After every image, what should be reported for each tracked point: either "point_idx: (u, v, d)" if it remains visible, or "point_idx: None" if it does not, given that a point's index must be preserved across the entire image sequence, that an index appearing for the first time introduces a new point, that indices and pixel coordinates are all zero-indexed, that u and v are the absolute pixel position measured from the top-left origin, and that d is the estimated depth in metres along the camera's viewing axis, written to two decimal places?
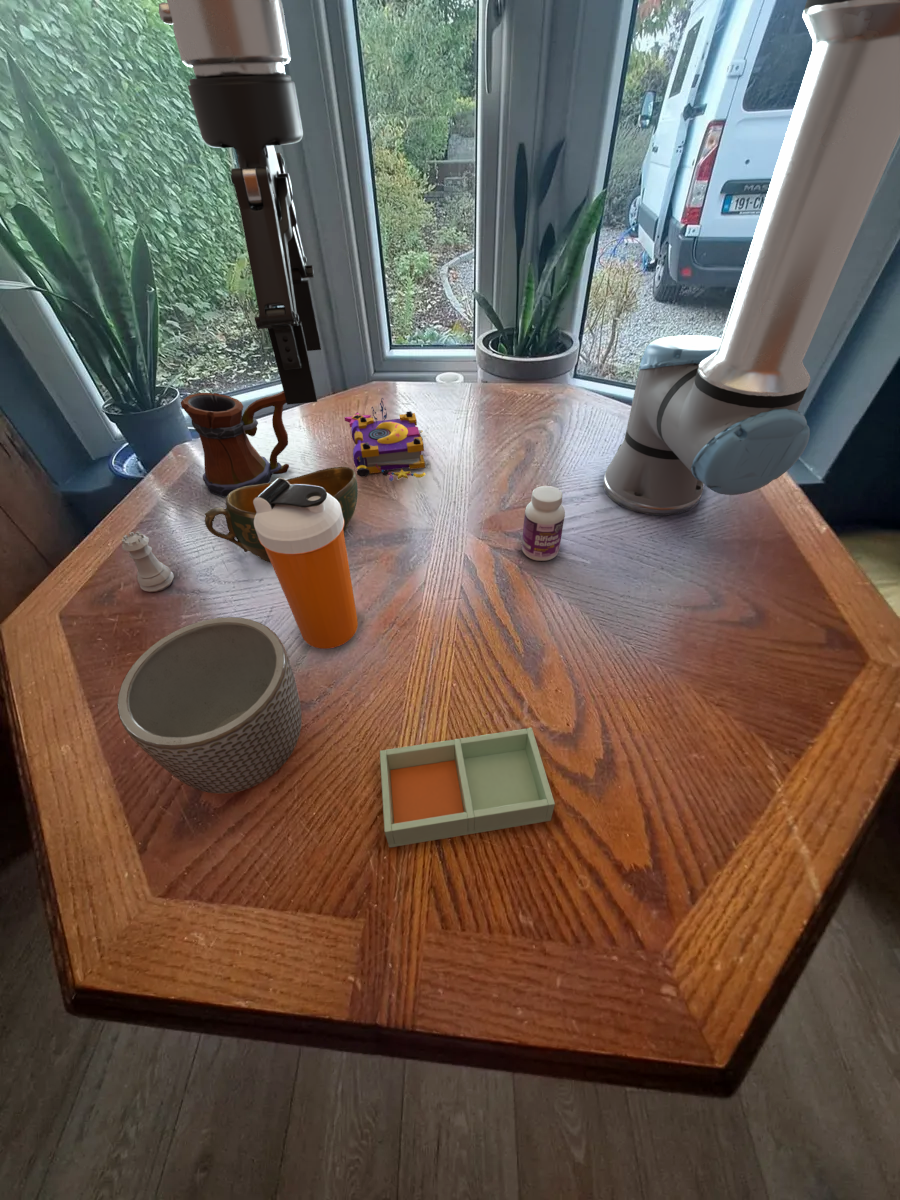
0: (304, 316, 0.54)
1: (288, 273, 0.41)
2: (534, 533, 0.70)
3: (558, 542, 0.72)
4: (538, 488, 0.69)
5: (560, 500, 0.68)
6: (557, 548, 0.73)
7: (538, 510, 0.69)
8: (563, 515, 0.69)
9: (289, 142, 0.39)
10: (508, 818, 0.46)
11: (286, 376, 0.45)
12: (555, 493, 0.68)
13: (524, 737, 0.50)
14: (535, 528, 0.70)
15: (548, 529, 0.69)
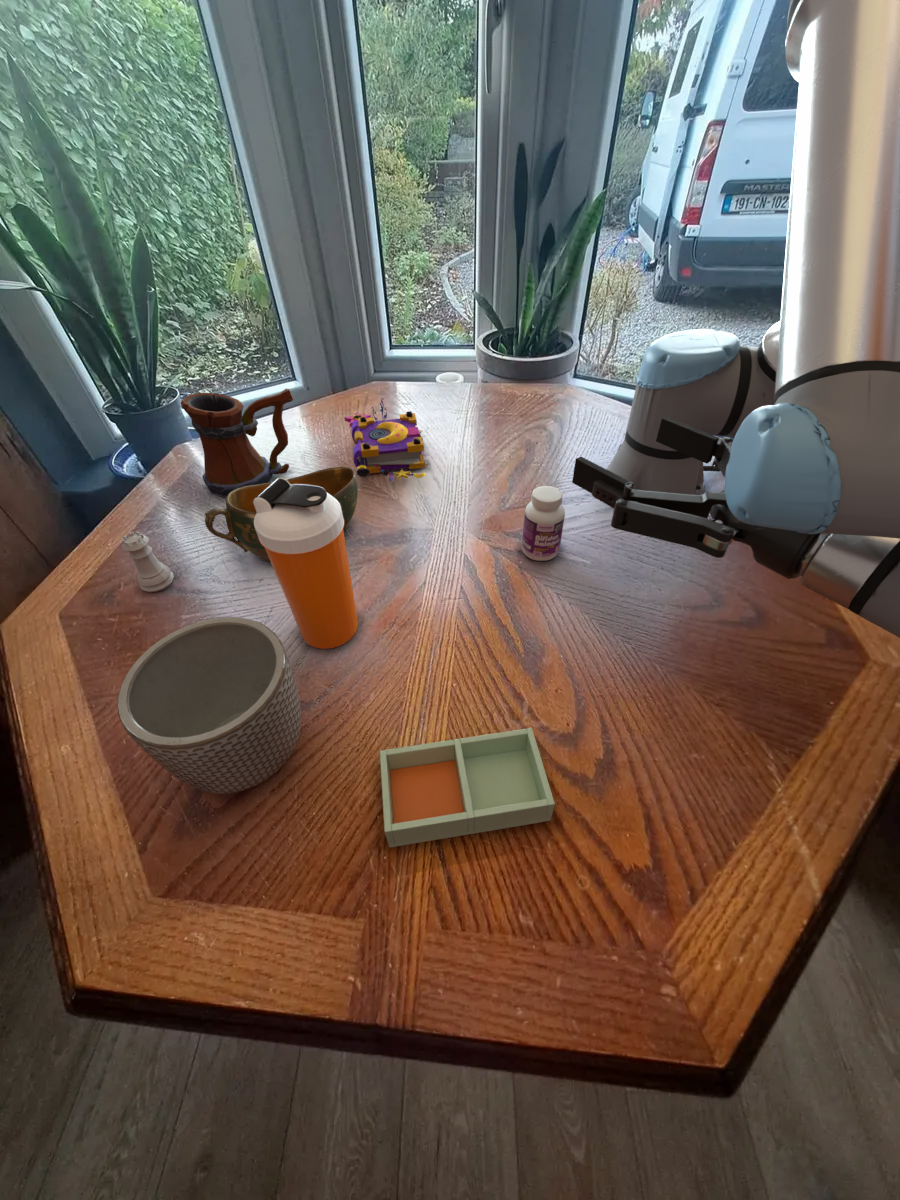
0: None
1: None
2: (534, 533, 0.70)
3: (558, 542, 0.72)
4: (538, 488, 0.69)
5: (560, 500, 0.68)
6: (557, 548, 0.73)
7: (538, 510, 0.69)
8: (563, 515, 0.69)
9: None
10: (508, 818, 0.46)
11: None
12: (555, 493, 0.68)
13: (524, 737, 0.50)
14: (535, 528, 0.70)
15: (548, 529, 0.69)
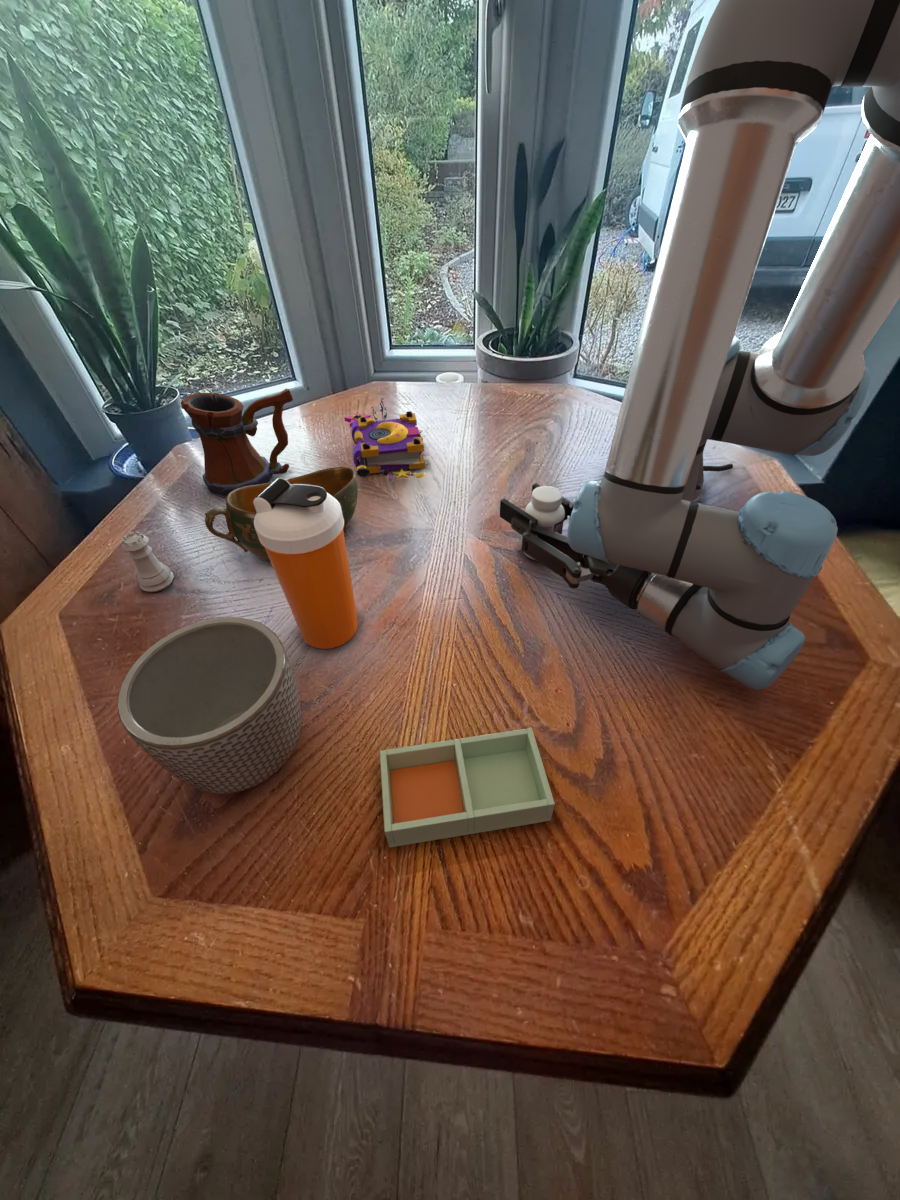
0: None
1: None
2: None
3: None
4: (537, 488, 0.69)
5: (560, 500, 0.68)
6: None
7: (538, 510, 0.69)
8: (563, 515, 0.69)
9: None
10: (508, 818, 0.46)
11: None
12: (554, 493, 0.68)
13: (524, 737, 0.50)
14: None
15: None
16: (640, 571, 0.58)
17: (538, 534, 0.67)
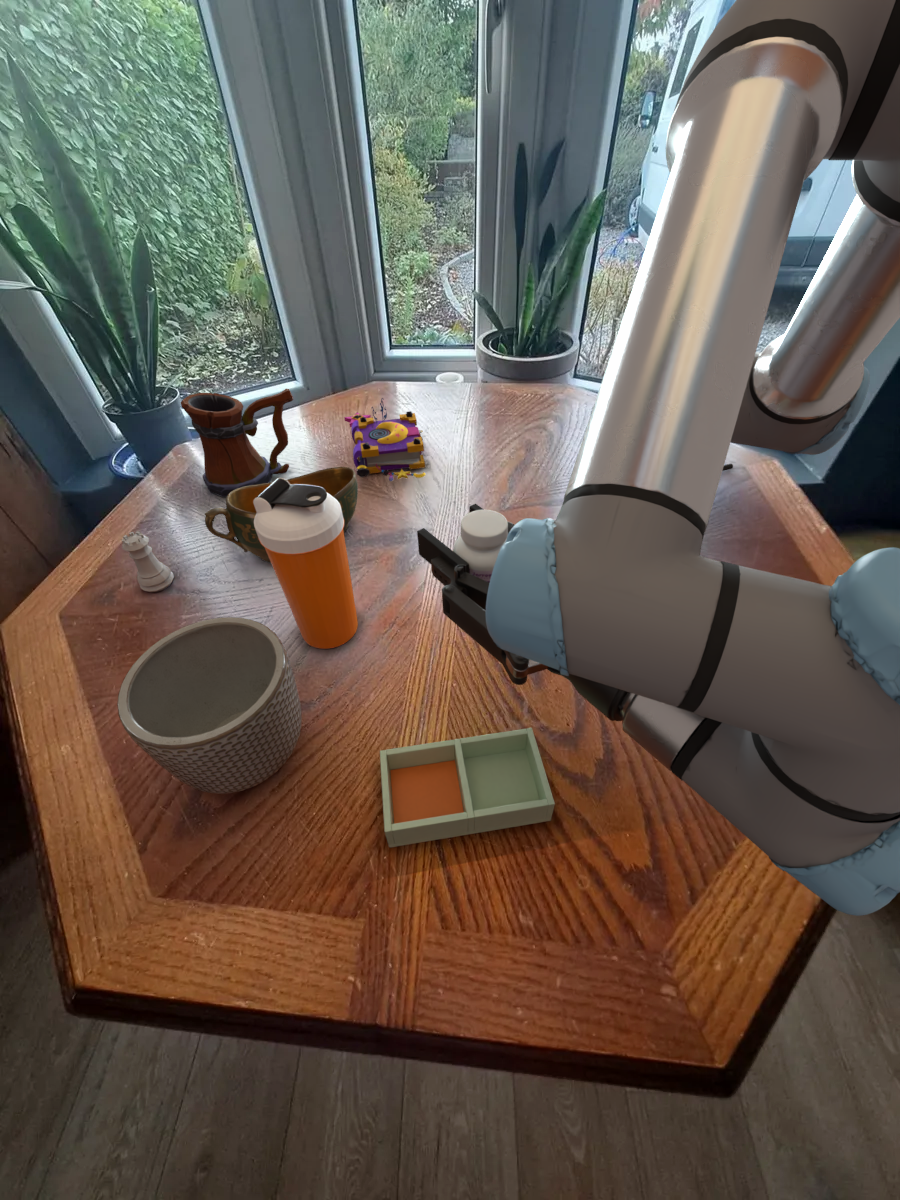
0: None
1: None
2: None
3: None
4: (471, 514, 0.45)
5: (504, 533, 0.43)
6: None
7: (471, 548, 0.44)
8: None
9: None
10: (508, 818, 0.46)
11: None
12: (496, 523, 0.43)
13: (524, 737, 0.50)
14: None
15: (488, 578, 0.44)
16: None
17: (467, 588, 0.42)
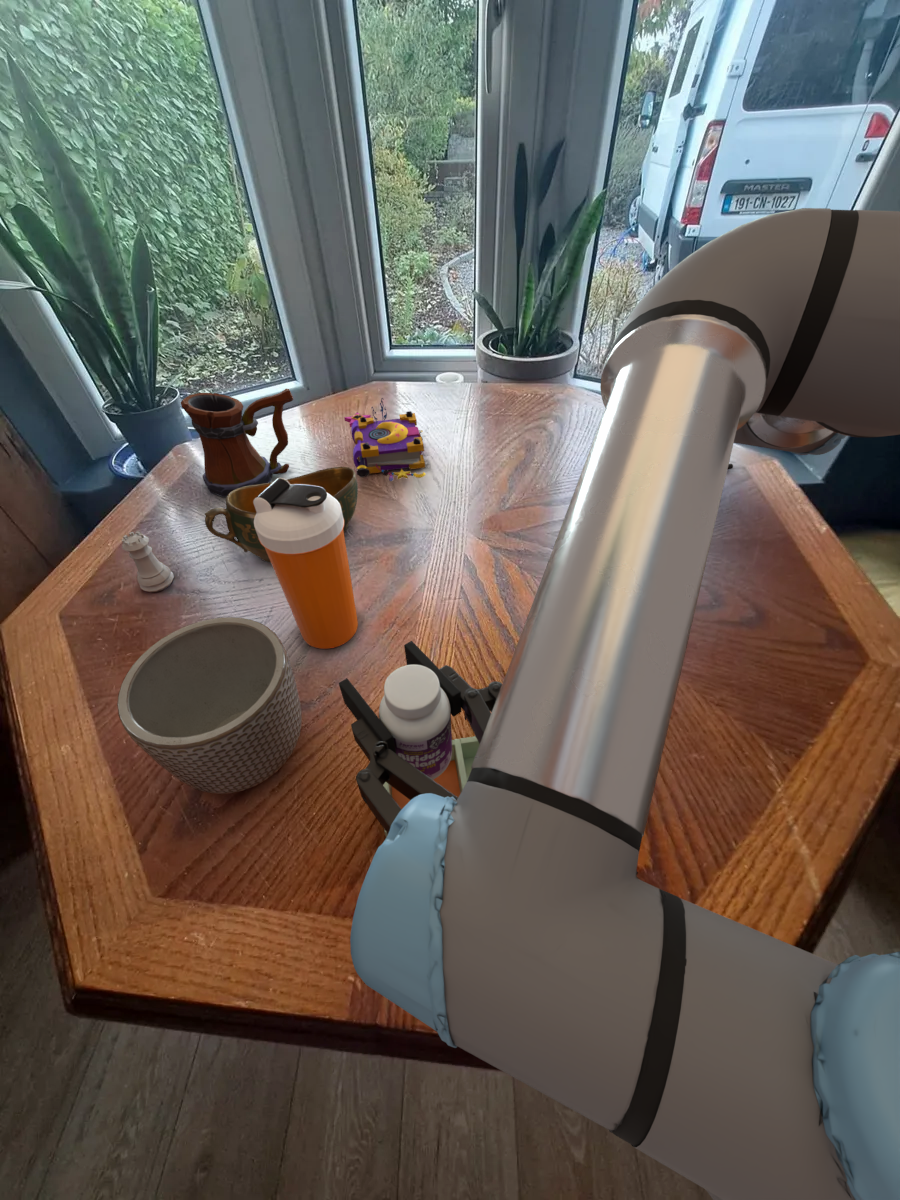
0: None
1: None
2: None
3: (444, 756, 0.40)
4: (397, 672, 0.38)
5: (434, 702, 0.36)
6: (444, 763, 0.41)
7: (396, 715, 0.37)
8: (445, 721, 0.38)
9: None
10: None
11: None
12: (425, 687, 0.37)
13: None
14: None
15: (418, 748, 0.38)
16: None
17: (388, 772, 0.35)
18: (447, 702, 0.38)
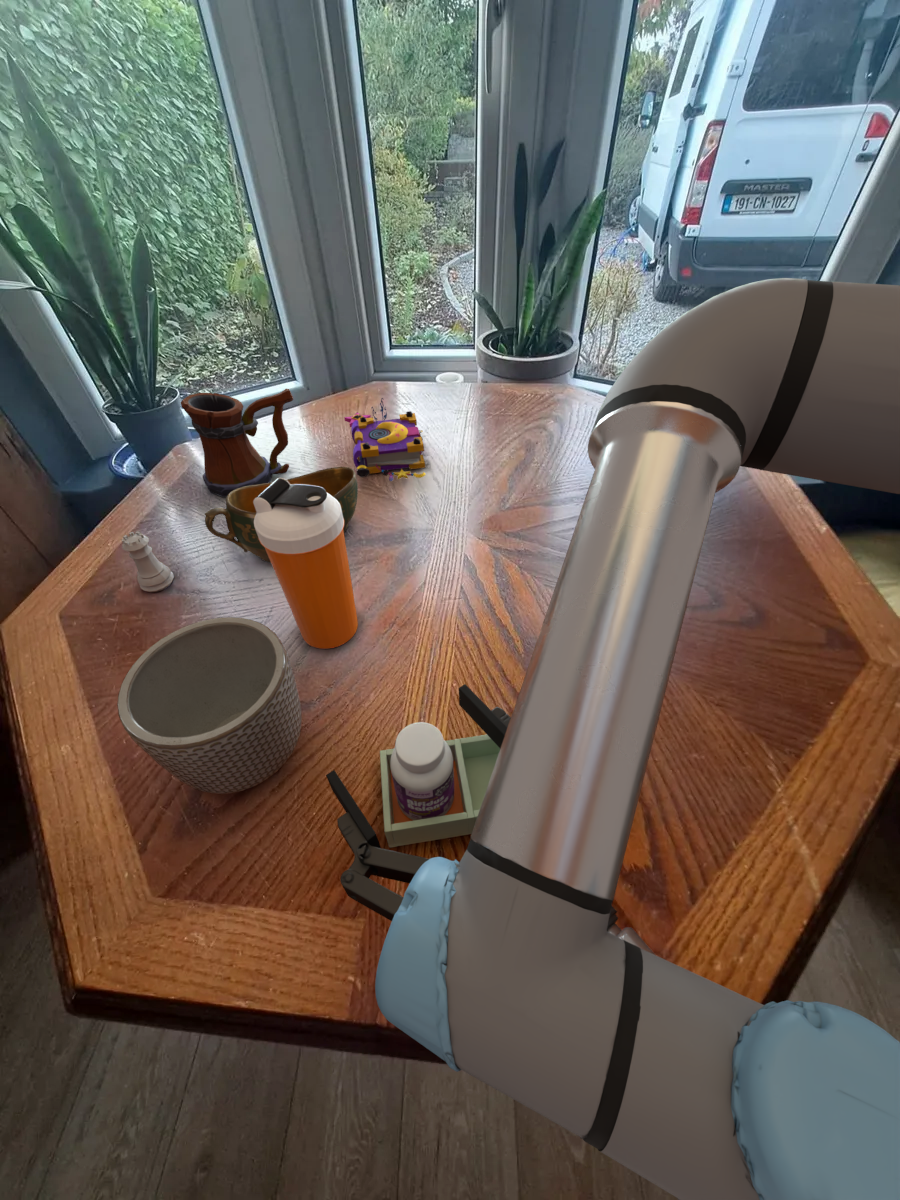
0: None
1: None
2: (404, 796, 0.44)
3: (447, 800, 0.46)
4: (407, 729, 0.43)
5: (439, 757, 0.41)
6: (447, 805, 0.46)
7: (406, 768, 0.42)
8: (448, 772, 0.43)
9: None
10: None
11: None
12: (431, 744, 0.42)
13: None
14: (403, 792, 0.43)
15: (424, 796, 0.43)
16: None
17: (378, 867, 0.37)
18: (450, 755, 0.44)
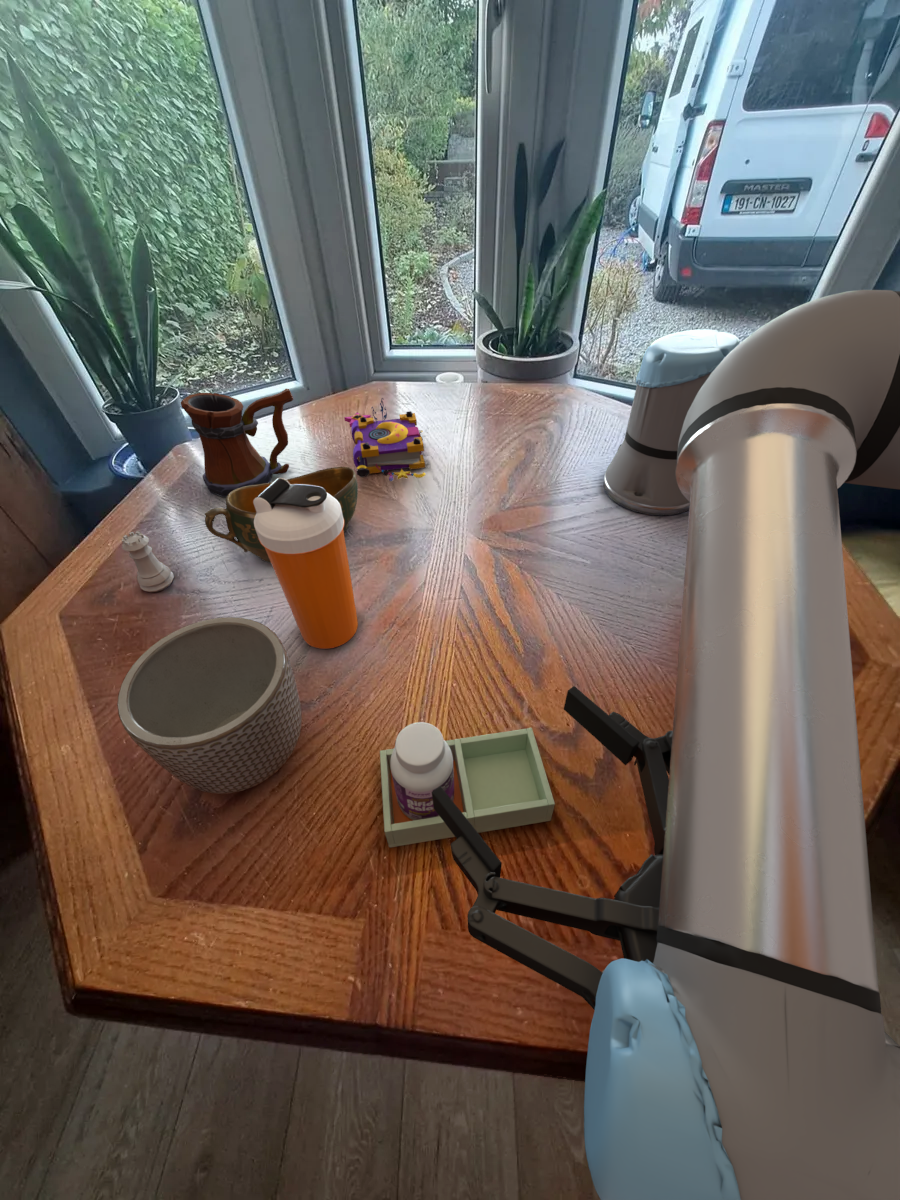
0: None
1: None
2: (404, 796, 0.44)
3: None
4: (407, 729, 0.43)
5: (439, 757, 0.41)
6: None
7: (406, 768, 0.42)
8: (448, 772, 0.43)
9: None
10: (508, 818, 0.46)
11: None
12: (431, 744, 0.42)
13: (524, 737, 0.50)
14: (403, 792, 0.43)
15: (424, 796, 0.43)
16: None
17: (508, 903, 0.32)
18: (450, 755, 0.44)
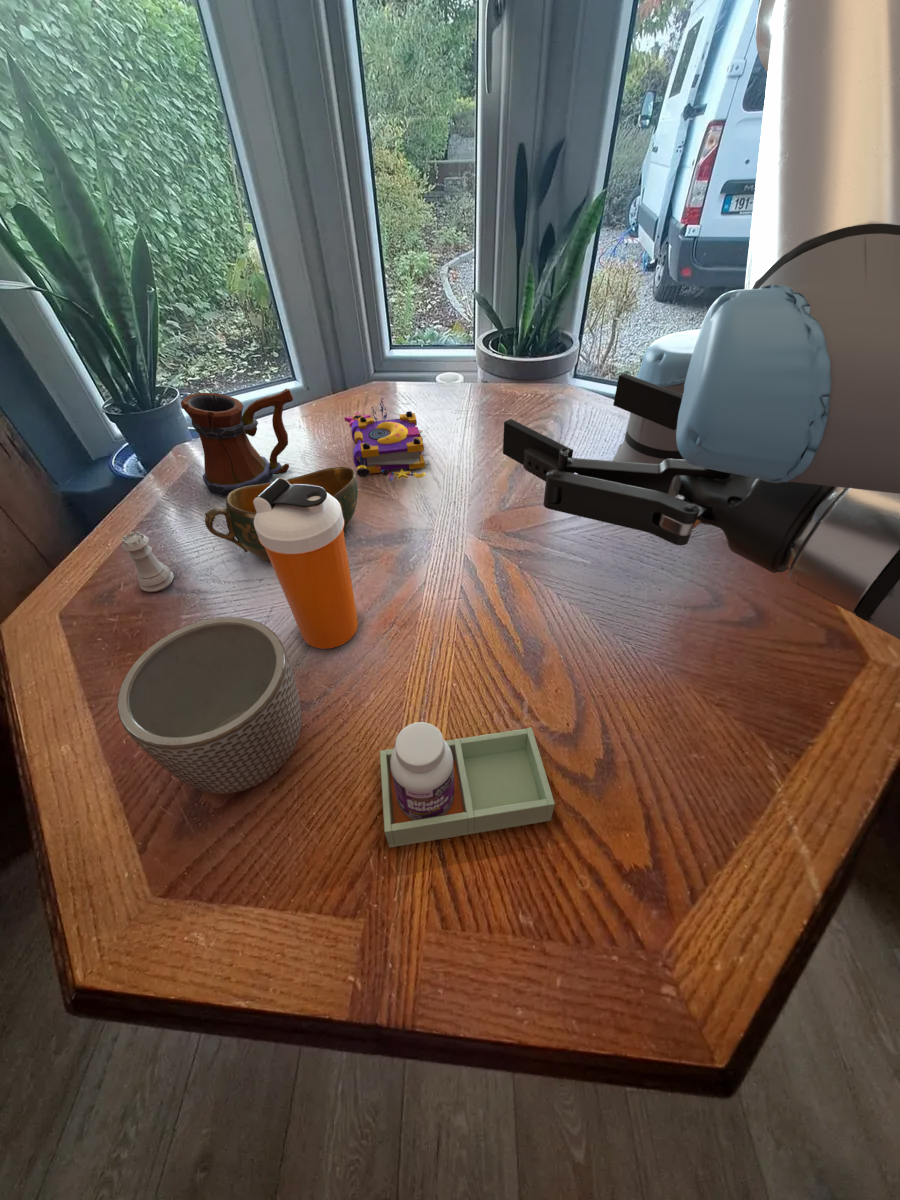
0: None
1: None
2: (404, 796, 0.44)
3: (447, 800, 0.46)
4: (407, 729, 0.43)
5: (439, 757, 0.41)
6: (447, 805, 0.46)
7: (406, 768, 0.42)
8: (448, 772, 0.43)
9: None
10: (508, 818, 0.46)
11: None
12: (431, 744, 0.42)
13: (524, 737, 0.50)
14: (403, 792, 0.43)
15: (424, 796, 0.43)
16: (806, 493, 0.30)
17: (581, 472, 0.36)
18: (450, 755, 0.44)
